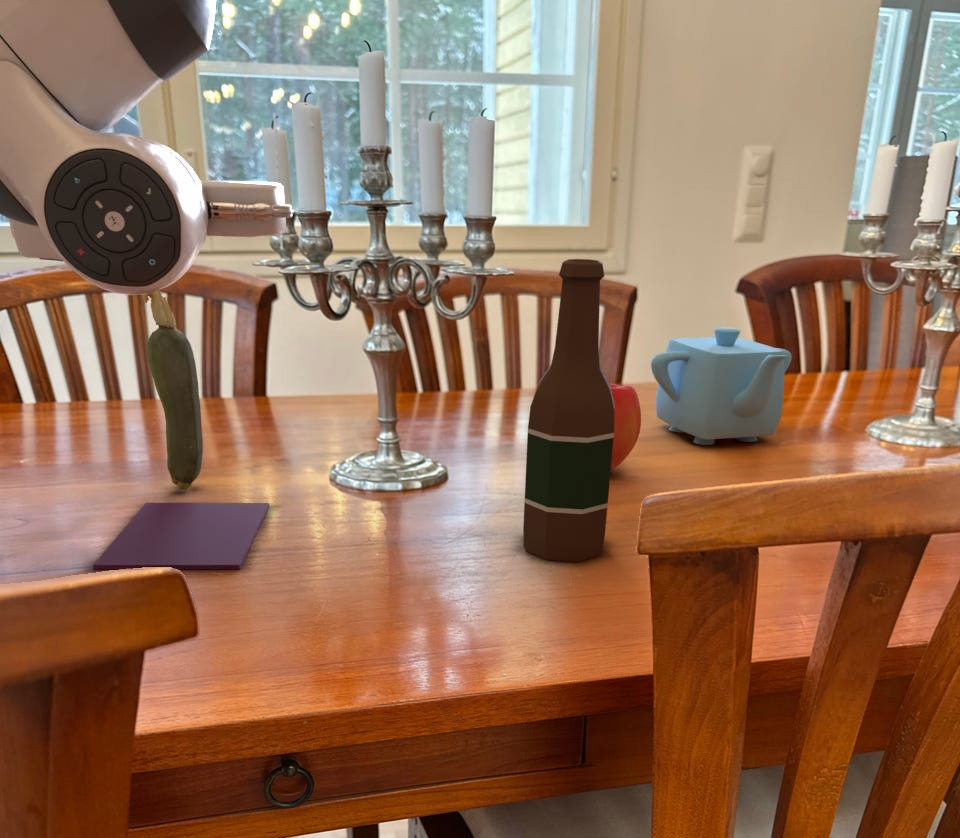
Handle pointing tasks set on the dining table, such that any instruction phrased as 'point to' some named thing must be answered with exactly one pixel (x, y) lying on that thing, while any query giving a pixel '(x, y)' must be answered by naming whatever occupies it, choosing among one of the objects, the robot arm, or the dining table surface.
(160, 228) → the robot arm
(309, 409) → the dining table surface
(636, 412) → the apple
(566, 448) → the beer bottle
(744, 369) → the teapot
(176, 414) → the vegetable
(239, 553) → the placemat
